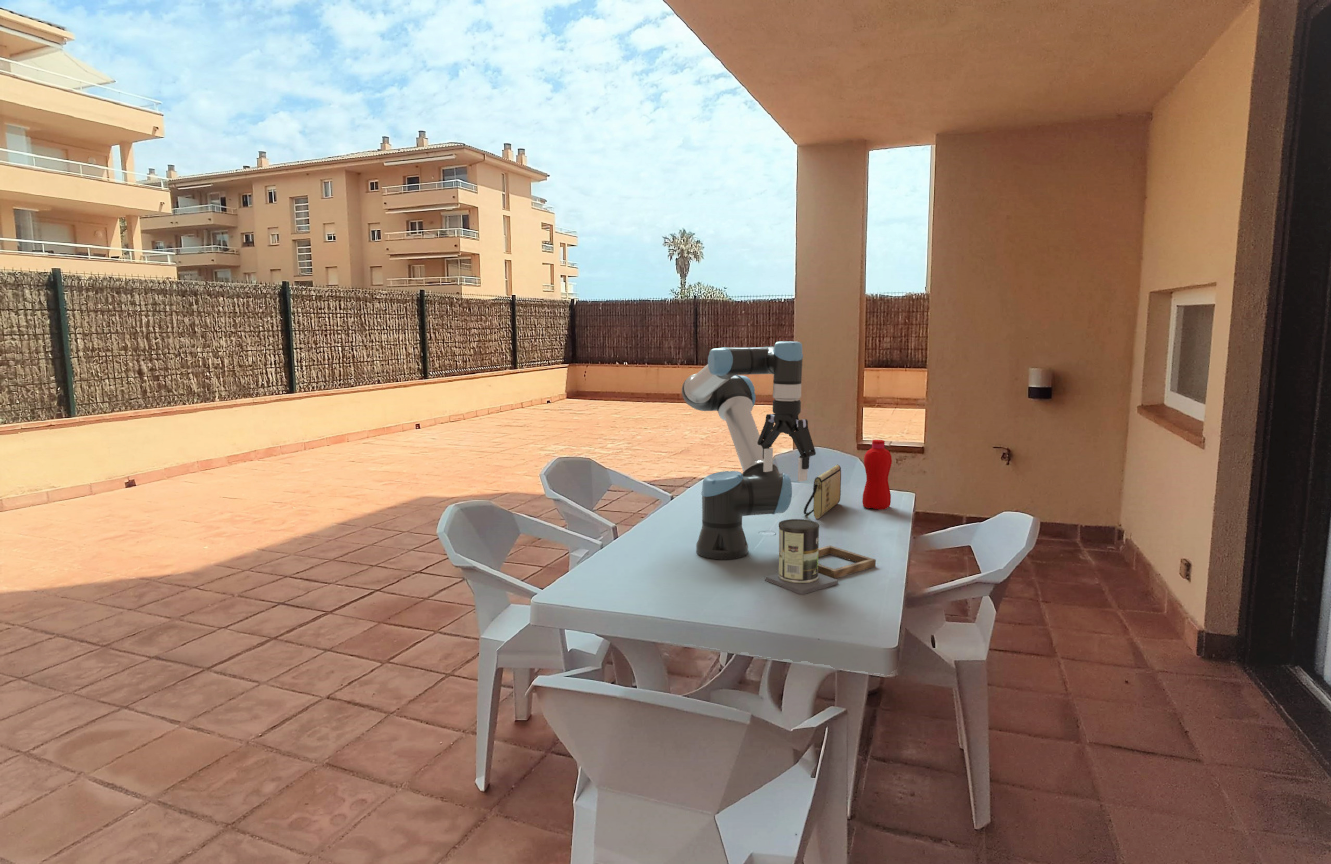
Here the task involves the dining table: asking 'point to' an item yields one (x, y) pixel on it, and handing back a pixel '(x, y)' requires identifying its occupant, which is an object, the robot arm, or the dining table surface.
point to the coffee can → (798, 550)
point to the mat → (803, 587)
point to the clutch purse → (826, 491)
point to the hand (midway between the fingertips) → (784, 475)
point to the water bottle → (877, 476)
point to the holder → (842, 571)
